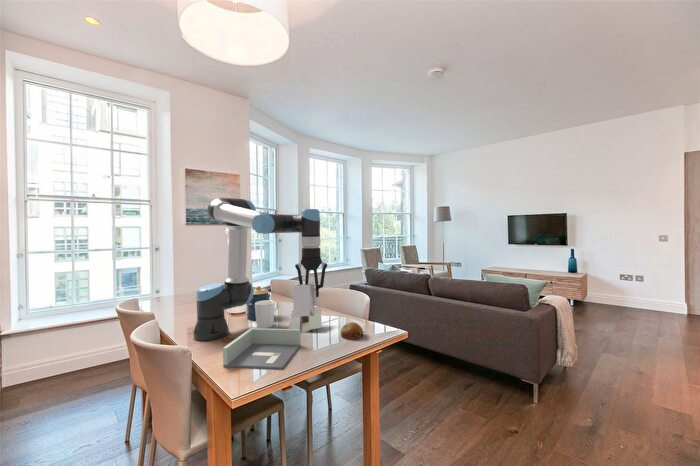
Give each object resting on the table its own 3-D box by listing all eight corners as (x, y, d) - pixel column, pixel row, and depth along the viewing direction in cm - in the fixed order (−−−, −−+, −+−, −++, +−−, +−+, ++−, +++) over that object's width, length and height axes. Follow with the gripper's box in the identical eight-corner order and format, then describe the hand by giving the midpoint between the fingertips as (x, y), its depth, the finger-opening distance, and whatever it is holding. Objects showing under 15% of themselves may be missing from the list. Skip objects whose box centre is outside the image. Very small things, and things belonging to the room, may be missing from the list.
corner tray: (223, 366, 109) (222, 348, 109) (251, 343, 131) (250, 328, 131) (282, 369, 106) (281, 350, 106) (300, 345, 128) (300, 329, 128)
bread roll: (355, 339, 144) (350, 322, 146) (369, 334, 137) (364, 317, 140) (340, 345, 137) (334, 327, 140) (354, 340, 130) (348, 322, 133)
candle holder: (264, 330, 149) (263, 305, 149) (250, 327, 154) (250, 303, 154) (279, 324, 157) (278, 301, 157) (265, 322, 162) (265, 299, 162)
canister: (263, 312, 181) (262, 283, 181) (275, 316, 172) (274, 285, 172) (242, 317, 172) (241, 286, 171) (254, 322, 163) (253, 289, 162)
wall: (325, 336, 150) (324, 310, 161) (322, 327, 144) (320, 301, 155) (292, 342, 150) (293, 316, 161) (288, 333, 144) (289, 306, 155)
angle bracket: (314, 315, 117) (314, 284, 117) (293, 316, 116) (293, 285, 116) (314, 308, 127) (313, 280, 127) (294, 309, 126) (294, 280, 126)
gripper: (291, 248, 119) (292, 308, 119) (330, 247, 121) (330, 306, 121) (292, 247, 126) (293, 303, 126) (328, 246, 128) (329, 302, 128)
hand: (311, 305), depth 124 cm, fingers closed on angle bracket, 2 cm apart
